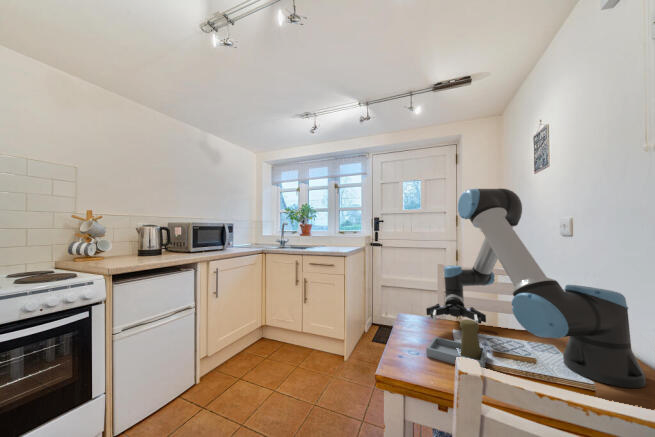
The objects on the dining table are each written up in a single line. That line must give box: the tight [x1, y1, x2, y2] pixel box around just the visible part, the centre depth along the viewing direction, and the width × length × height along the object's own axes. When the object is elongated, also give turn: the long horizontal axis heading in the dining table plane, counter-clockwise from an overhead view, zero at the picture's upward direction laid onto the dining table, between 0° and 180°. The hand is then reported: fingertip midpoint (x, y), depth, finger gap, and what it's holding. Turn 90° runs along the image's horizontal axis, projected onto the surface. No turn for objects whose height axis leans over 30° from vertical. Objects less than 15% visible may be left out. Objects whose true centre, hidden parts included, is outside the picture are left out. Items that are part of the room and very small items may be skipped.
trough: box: [425, 336, 488, 368], centre depth 78 cm, size 16×11×3 cm
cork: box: [459, 319, 482, 361], centre depth 77 cm, size 6×6×11 cm
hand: (454, 321), depth 86 cm, fingers open, 13 cm apart
